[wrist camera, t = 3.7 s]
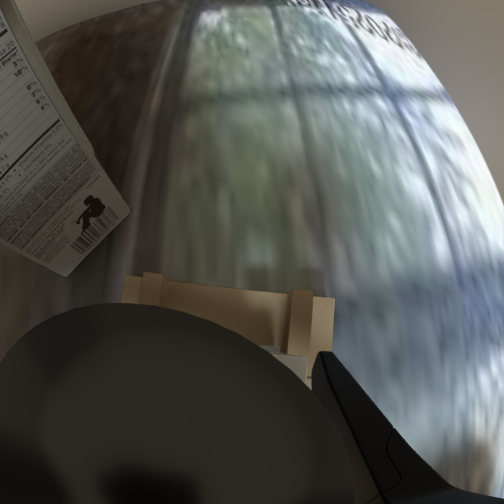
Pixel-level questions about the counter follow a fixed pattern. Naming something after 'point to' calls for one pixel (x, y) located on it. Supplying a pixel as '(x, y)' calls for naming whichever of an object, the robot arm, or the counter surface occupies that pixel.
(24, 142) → the coffee box
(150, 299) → the fader track
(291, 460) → the fader knob
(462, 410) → the counter surface
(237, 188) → the counter surface
